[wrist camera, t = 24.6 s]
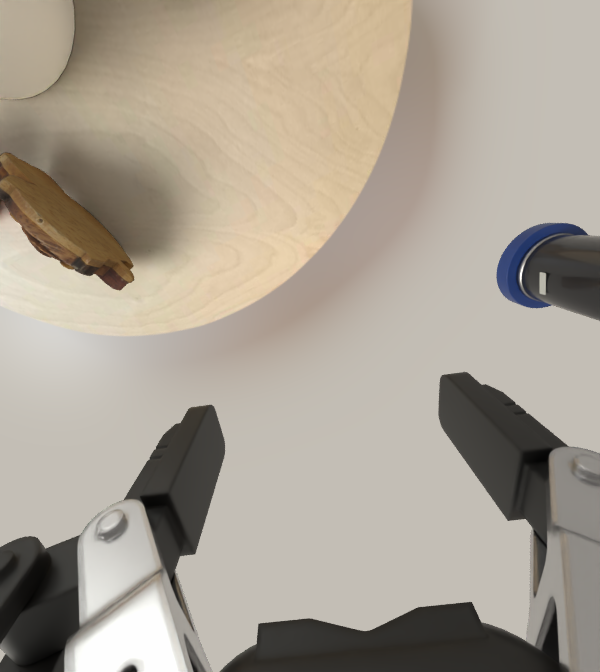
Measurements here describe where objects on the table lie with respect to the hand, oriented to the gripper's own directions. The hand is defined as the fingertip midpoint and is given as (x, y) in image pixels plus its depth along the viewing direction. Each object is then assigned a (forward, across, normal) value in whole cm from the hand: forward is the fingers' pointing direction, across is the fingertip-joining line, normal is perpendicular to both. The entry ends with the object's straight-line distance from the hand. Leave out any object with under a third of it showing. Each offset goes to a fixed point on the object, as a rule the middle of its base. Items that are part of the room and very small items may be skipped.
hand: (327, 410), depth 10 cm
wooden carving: (+30, +25, -9) cm, 40 cm away
